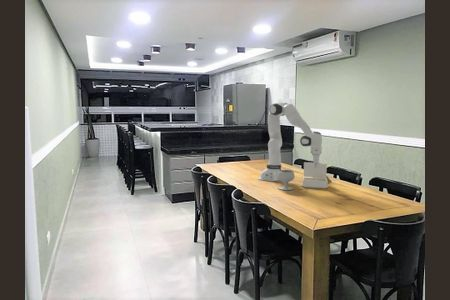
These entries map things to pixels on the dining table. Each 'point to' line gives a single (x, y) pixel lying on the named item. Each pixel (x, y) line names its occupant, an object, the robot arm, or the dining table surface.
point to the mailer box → (315, 182)
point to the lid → (315, 170)
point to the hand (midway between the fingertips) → (315, 167)
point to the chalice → (285, 178)
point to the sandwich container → (323, 177)
